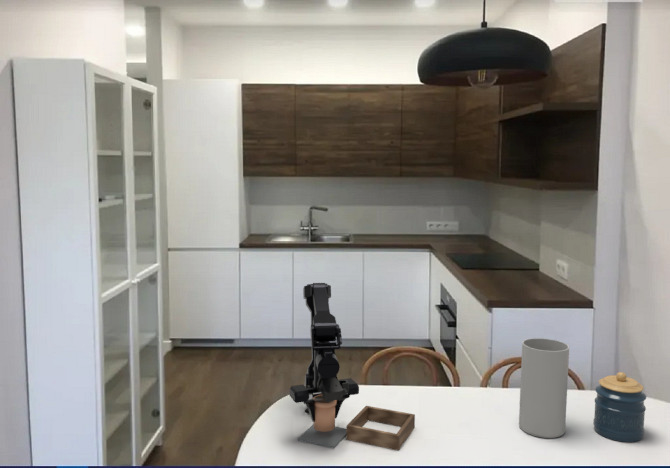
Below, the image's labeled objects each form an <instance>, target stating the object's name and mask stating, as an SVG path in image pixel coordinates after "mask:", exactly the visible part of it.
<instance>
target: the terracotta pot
mask: <svg viewBox="0 0 670 468" xmlns="http://www.w3.org/2000/svg"><path fill="white" fill-rule="evenodd" d="M313 400H314V401H315V404H314V410H315V422H313V424H314V429H315V430H317V431H322V432H327V431H331V430H333V429H334V428H335V426H336V418H335V406H336V404H337V400H333V401H330V402H327V401H325V400H324V397H323V395H317V396H314V397H313Z"/></svg>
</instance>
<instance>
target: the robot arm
mask: <svg viewBox="0 0 670 468" xmlns="http://www.w3.org/2000/svg"><path fill="white" fill-rule="evenodd" d="M302 291H303V292H302V294H303V299H304V300H305V306H306V307H307V309H308V311H309V312H310V327H309V329H310V330H309V331H310V343H311V361H310V363H309V365H308V366H307V368H306V369H307V370H306V371H307V372H306V373H305V375H304V384H297V385H295V384H294V385H291V387H290V388H289V391H288V395H289V397H290V398H291V399H292V401H293V402H294V403H297V404H299V403H303V404H304V405H305V406H306V408H305V409H304V412H305V413H309V415H310V418H311V421H312V422H313V423H314V422H315V410H314V404H315V401H314V400H313V397H314V396H317V395H323V397H324V400H325V401H327V402H330V401H333V400H337V404H336V406H335V419H337V418H338V415H339V412H340V410H341V408H342V405H343V403H344V401H345V400H347V399H348V398H350V396H353V395H358V394H360V386H359V384H358V383H357V382H356V381H354V380H353V379H352V378H351V377H350V378H343V379H338V377H337V375H338V374H339V372H340V367H341V365H340V364H339V363H340V362H339V360H338V358H337V355H336V350H340V349H341V345H342V344H343V339H342V331H341V330H342V329H341V327H340V325H339V324H337V319H336V316H335V315H333V314H332V313H331V310H330V303H329V299H331V298H332V285H330V284H328V283H325V282H313V283H309V284H306V285H305V286H303V289H302Z"/></svg>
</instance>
